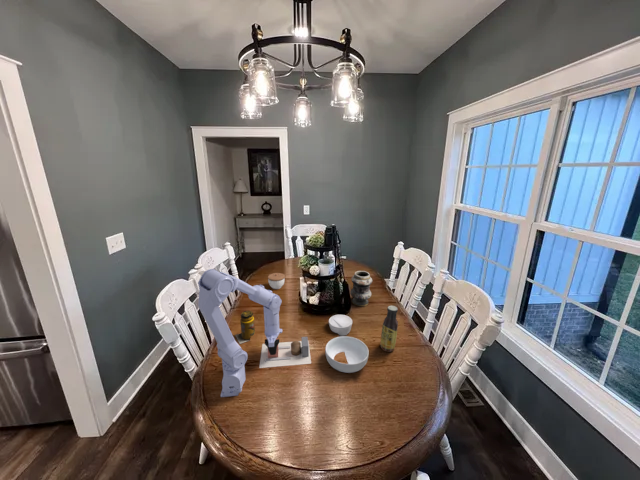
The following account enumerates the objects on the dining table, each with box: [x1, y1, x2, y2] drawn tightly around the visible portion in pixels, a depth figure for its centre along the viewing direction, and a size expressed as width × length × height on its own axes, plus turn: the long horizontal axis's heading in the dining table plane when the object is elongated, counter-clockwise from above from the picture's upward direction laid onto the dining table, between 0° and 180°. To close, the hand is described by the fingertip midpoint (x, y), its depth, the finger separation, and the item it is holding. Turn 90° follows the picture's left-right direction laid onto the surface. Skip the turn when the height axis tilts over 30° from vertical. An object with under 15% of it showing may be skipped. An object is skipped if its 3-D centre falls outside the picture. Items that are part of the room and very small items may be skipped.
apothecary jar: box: [349, 270, 373, 307], centre depth 148 cm, size 12×12×18 cm
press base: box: [258, 336, 312, 369], centre depth 106 cm, size 14×20×6 cm
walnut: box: [291, 340, 301, 356], centre depth 106 cm, size 4×4×4 cm
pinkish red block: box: [268, 338, 279, 358], centre depth 105 cm, size 4×4×6 cm
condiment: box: [234, 310, 256, 345], centre depth 117 cm, size 7×8×12 cm
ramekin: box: [328, 314, 353, 337], centre depth 123 cm, size 11×11×5 cm
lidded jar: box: [267, 272, 286, 290], centre depth 167 cm, size 11×11×9 cm
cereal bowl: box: [324, 335, 370, 374], centre depth 102 cm, size 17×17×7 cm
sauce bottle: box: [380, 305, 399, 353], centre depth 109 cm, size 7×6×20 cm
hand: (273, 350), depth 105 cm, fingers closed on pinkish red block, 4 cm apart
